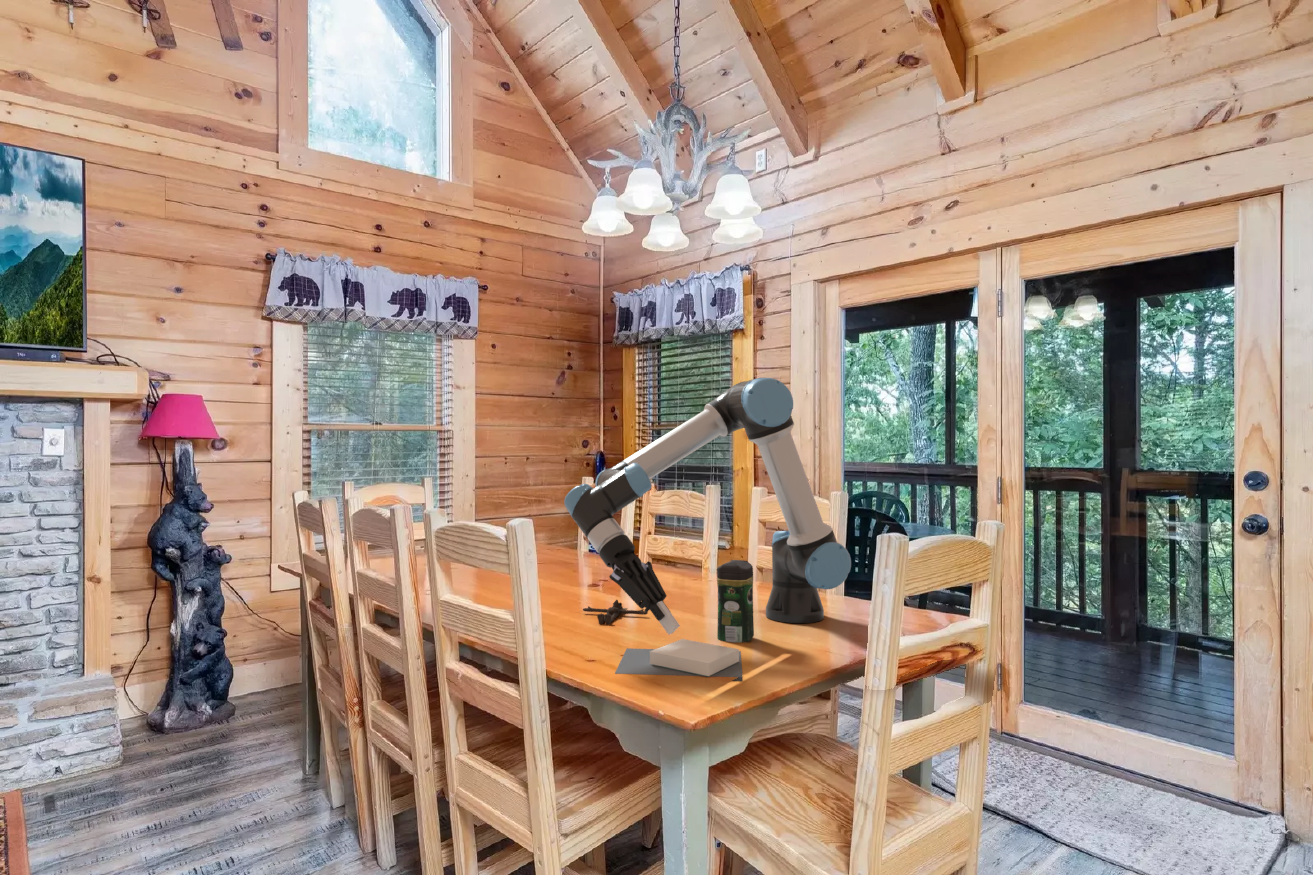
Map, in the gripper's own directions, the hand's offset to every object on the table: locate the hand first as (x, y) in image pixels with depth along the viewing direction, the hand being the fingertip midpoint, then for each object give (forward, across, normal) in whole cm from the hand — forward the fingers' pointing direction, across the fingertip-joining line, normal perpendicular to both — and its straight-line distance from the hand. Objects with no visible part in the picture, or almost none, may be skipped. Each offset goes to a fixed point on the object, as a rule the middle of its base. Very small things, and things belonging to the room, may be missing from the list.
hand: (674, 629), depth 156 cm
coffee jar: (+6, -24, -4) cm, 25 cm away
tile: (+2, 0, -5) cm, 5 cm away
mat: (+6, 0, -4) cm, 7 cm away
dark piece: (-20, -25, -31) cm, 45 cm away
